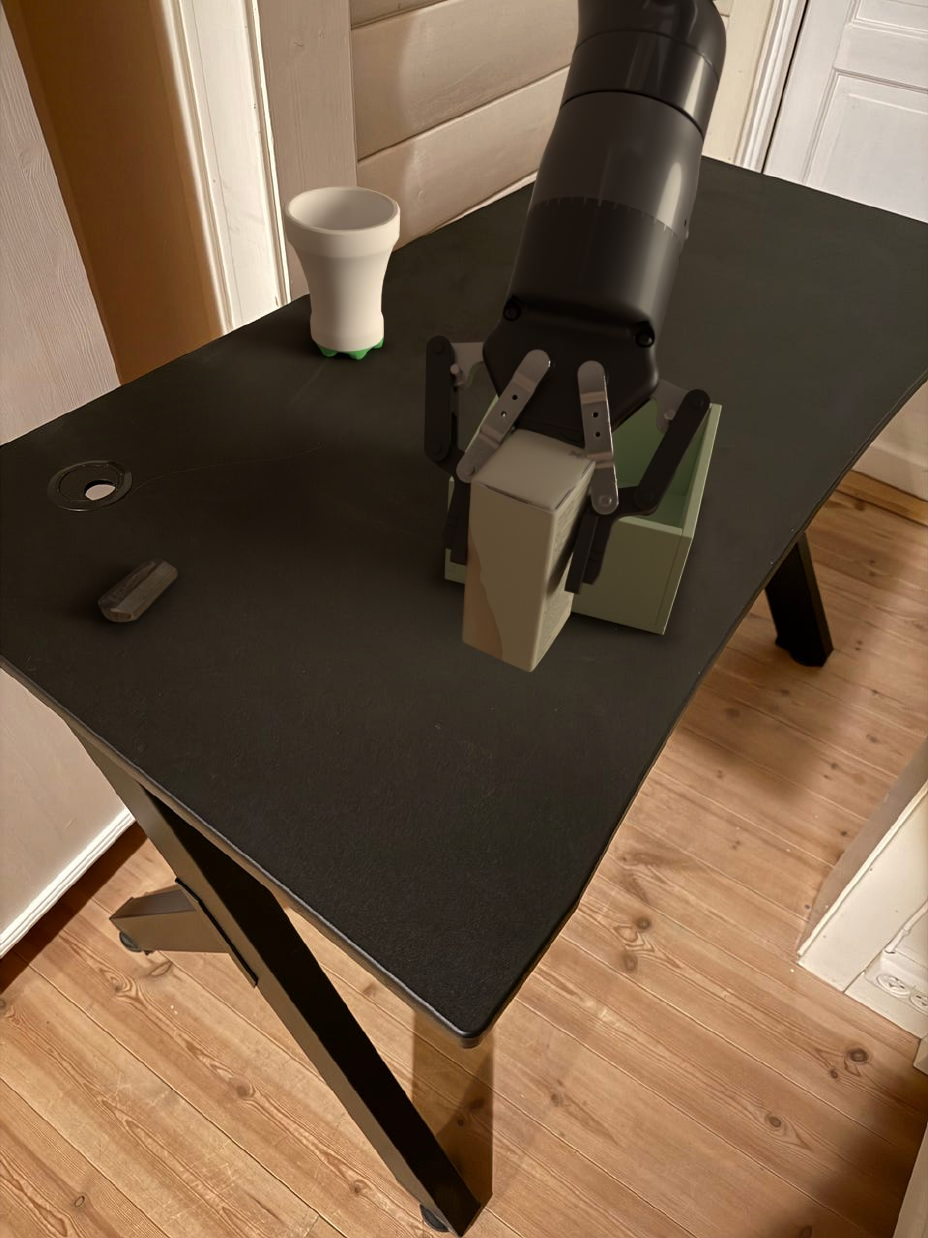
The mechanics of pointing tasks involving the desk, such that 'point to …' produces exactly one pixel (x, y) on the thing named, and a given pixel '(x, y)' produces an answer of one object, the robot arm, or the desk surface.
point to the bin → (641, 528)
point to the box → (523, 546)
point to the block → (137, 590)
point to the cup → (343, 262)
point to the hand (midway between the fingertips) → (516, 576)
